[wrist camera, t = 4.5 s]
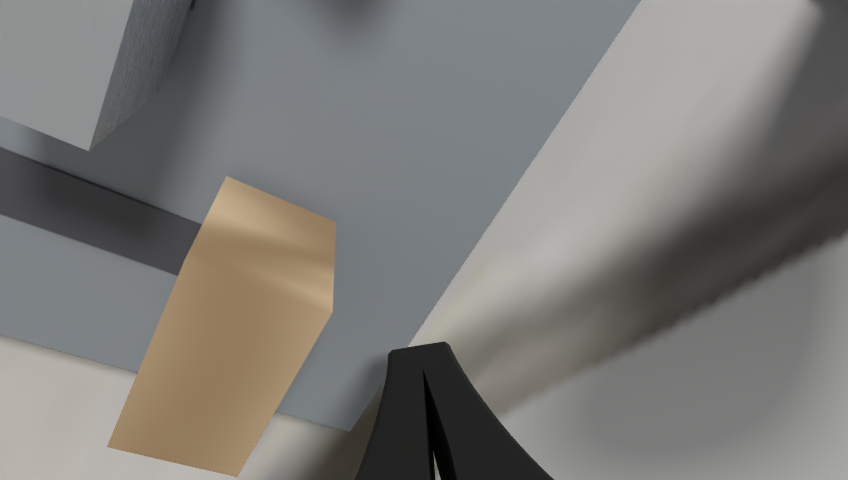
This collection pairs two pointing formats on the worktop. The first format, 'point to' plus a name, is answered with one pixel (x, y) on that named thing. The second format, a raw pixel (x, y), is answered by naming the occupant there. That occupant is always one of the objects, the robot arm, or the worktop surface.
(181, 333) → the oak slider
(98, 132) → the steel slider
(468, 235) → the console
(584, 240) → the worktop surface
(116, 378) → the worktop surface
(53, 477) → the worktop surface
